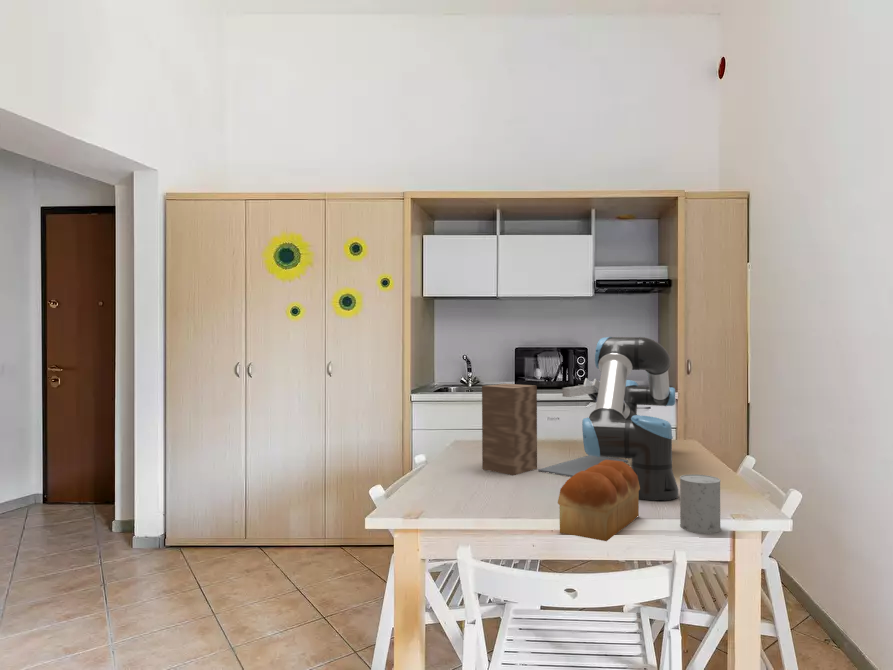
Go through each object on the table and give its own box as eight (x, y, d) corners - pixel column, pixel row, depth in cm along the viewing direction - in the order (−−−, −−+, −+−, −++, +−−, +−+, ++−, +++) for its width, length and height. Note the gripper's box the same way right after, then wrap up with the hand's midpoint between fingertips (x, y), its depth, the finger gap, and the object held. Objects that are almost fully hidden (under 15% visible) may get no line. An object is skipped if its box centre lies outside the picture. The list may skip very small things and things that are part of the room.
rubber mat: (590, 456, 251) (590, 454, 251) (627, 461, 240) (627, 460, 240) (538, 471, 225) (538, 469, 225) (577, 478, 214) (577, 476, 214)
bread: (607, 542, 149) (606, 479, 148) (557, 533, 156) (557, 473, 156) (640, 516, 169) (640, 461, 169) (595, 509, 176) (595, 456, 176)
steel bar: (599, 390, 243) (599, 382, 243) (606, 391, 241) (606, 383, 241) (562, 396, 224) (562, 388, 224) (569, 397, 222) (569, 388, 222)
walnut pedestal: (506, 463, 238) (505, 383, 238) (537, 468, 228) (536, 385, 228) (482, 469, 228) (482, 386, 228) (513, 475, 218) (513, 388, 218)
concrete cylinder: (682, 532, 156) (682, 482, 156) (677, 520, 165) (677, 473, 165) (724, 534, 153) (723, 484, 153) (717, 523, 163) (716, 475, 163)
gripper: (633, 418, 243) (607, 392, 228) (595, 414, 254) (568, 389, 239) (637, 400, 245) (612, 373, 230) (600, 397, 256) (573, 371, 241)
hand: (589, 381), depth 234 cm, fingers closed on steel bar, 3 cm apart
